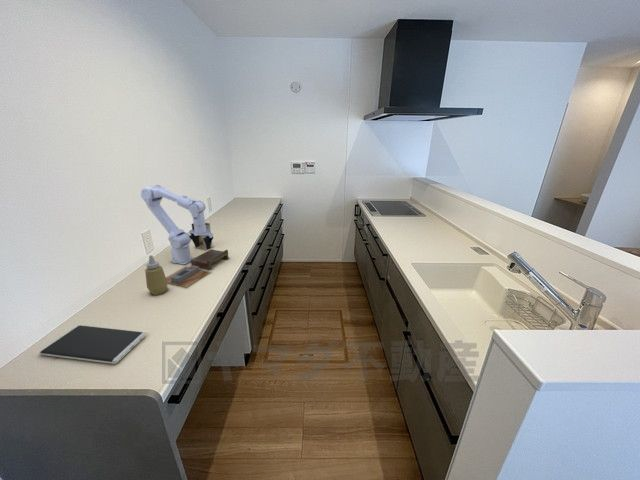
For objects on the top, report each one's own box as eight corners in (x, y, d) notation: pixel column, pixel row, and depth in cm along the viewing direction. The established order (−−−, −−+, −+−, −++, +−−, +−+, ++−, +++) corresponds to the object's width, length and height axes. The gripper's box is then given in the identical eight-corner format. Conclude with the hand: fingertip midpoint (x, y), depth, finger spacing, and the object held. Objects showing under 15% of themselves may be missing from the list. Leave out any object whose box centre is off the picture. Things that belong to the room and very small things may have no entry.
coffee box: (194, 247, 167) (190, 223, 161) (202, 244, 173) (198, 221, 167) (205, 250, 164) (202, 225, 158) (213, 246, 170) (210, 223, 164)
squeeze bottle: (173, 288, 122) (165, 253, 116) (157, 298, 115) (149, 261, 109) (159, 285, 125) (152, 250, 118) (144, 294, 117) (135, 258, 111)
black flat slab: (115, 365, 81) (114, 361, 80) (39, 355, 84) (37, 351, 83) (147, 335, 93) (146, 331, 93) (79, 328, 96) (77, 324, 95)
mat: (160, 281, 128) (160, 280, 128) (186, 267, 142) (185, 266, 142) (186, 287, 123) (186, 287, 123) (210, 272, 137) (210, 272, 137)
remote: (178, 283, 126) (177, 278, 125) (171, 282, 127) (170, 276, 126) (199, 270, 138) (199, 266, 137) (193, 269, 139) (192, 264, 138)
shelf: (191, 266, 143) (190, 257, 141) (212, 255, 158) (210, 246, 155) (209, 270, 140) (208, 260, 138) (228, 258, 154) (227, 249, 152)
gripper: (182, 224, 138) (187, 248, 143) (205, 228, 134) (208, 252, 138) (193, 221, 144) (196, 243, 149) (214, 224, 140) (217, 247, 145)
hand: (203, 247), depth 144 cm, fingers open, 7 cm apart
